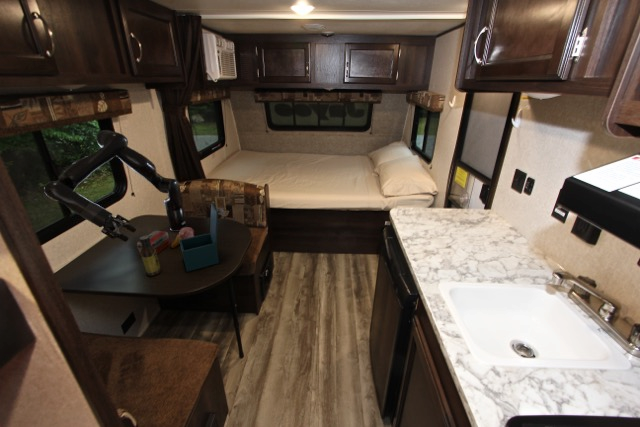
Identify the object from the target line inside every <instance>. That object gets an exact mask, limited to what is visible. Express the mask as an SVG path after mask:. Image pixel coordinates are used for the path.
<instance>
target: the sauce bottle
mask: <svg viewBox="0 0 640 427" xmlns="http://www.w3.org/2000/svg"><path fill="white" fill-rule="evenodd" d="M140 241H141V244H142V249H141V254H142V256H141V259H142V262H143V266H144V269H145V272H146V274H147V276H150V277H151V276H156V275H158V274H159V273H161V264H160V261H159V256H158V254H157V253H156V249H155V248H154V247H153V246H152V245H151V243H150V237H149V236H148V235H142V236H140V237H139V242H140Z"/></svg>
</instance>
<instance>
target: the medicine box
mask: <svg viewBox="0 0 640 427" xmlns="http://www.w3.org/2000/svg"><path fill="white" fill-rule="evenodd" d="M147 236H149V237H150V243H151V245H152V246H153V247H154V248H155V249H156V253H157V255H158V254H159V253H160V252H162V251H163V250H164V249H166V248H167V247H168V246H169V245H171V240H170V235H169V233H168V231H163V230H162V231H161V230H153V231H152V232H151V233H150V234H148V235H147ZM136 246H137V250H138V253H139V255H140V256H141V257H142V254H141V249H142V244H141V241H140V240H139V241H138V242H137V243H136Z"/></svg>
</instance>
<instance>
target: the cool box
mask: <svg viewBox="0 0 640 427" xmlns="http://www.w3.org/2000/svg"><path fill="white" fill-rule="evenodd" d="M179 242H180V244H179V245H180V250H181V254H182V259H183V263H184V266H185V267H184V268H185V270H186V272H187V273H188V272H192V271H195V270H200V269H202V268H206V267H210V266H213V265H217V264H220V259H219V253H218V247H217V243H215V241H214V239H213V237H212V235H211V233H210V232H208V233H204V234H199V235H194V237H190V238H186V239H181V240H179Z"/></svg>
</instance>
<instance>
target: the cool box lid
mask: <svg viewBox="0 0 640 427" xmlns="http://www.w3.org/2000/svg"><path fill="white" fill-rule="evenodd" d="M219 215H221V216H222V217H223V216H226V212H225V210H224V209H223V208H222V207H221V208H219V209H217V208H216V206H215V205H214V203H210V219H209V220H210V222H209V223H210V224H209V233H211V235H212V237H213V239H214V241H215V243H216V244H217V243H218V227H219V226H218V224H219Z"/></svg>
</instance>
